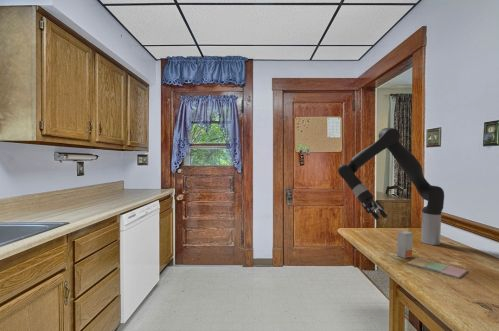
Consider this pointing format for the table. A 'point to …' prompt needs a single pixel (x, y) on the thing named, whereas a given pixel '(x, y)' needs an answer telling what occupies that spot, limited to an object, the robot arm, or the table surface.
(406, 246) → the skincare box
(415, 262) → the multicoloured flat board
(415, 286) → the table surface
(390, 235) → the table surface
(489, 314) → the table surface
